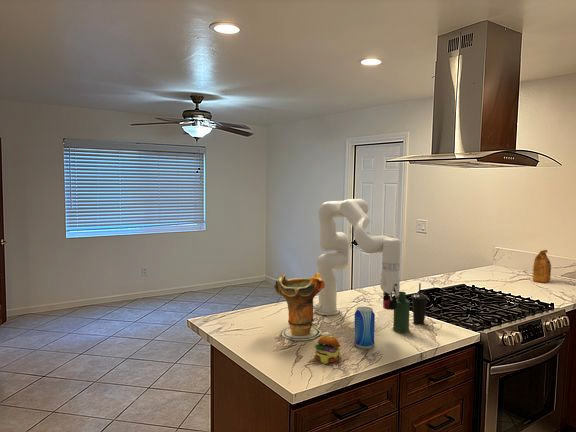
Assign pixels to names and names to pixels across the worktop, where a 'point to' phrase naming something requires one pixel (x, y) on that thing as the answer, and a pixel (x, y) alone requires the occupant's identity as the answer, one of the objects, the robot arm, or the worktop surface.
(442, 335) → the worktop surface
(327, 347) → the cheeseburger
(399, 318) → the bottle
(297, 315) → the decorative vase
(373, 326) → the beer can
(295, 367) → the worktop surface
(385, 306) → the cap
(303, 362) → the worktop surface
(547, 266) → the coffee package
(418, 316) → the drinking cup
